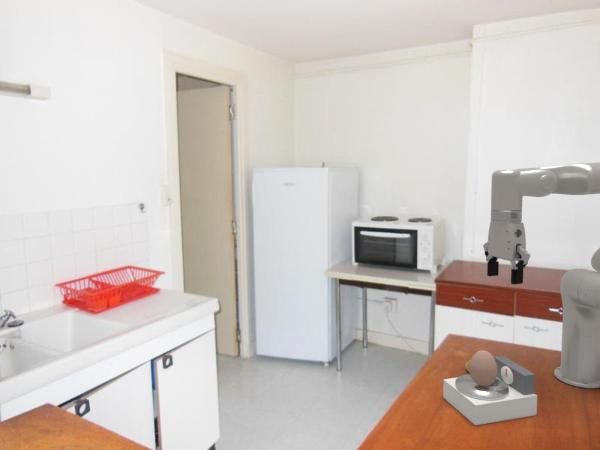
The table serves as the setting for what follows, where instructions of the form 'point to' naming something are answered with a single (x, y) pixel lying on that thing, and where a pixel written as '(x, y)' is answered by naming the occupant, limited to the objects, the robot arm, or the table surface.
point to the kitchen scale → (511, 407)
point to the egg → (483, 368)
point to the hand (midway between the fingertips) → (504, 279)
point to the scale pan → (481, 389)
